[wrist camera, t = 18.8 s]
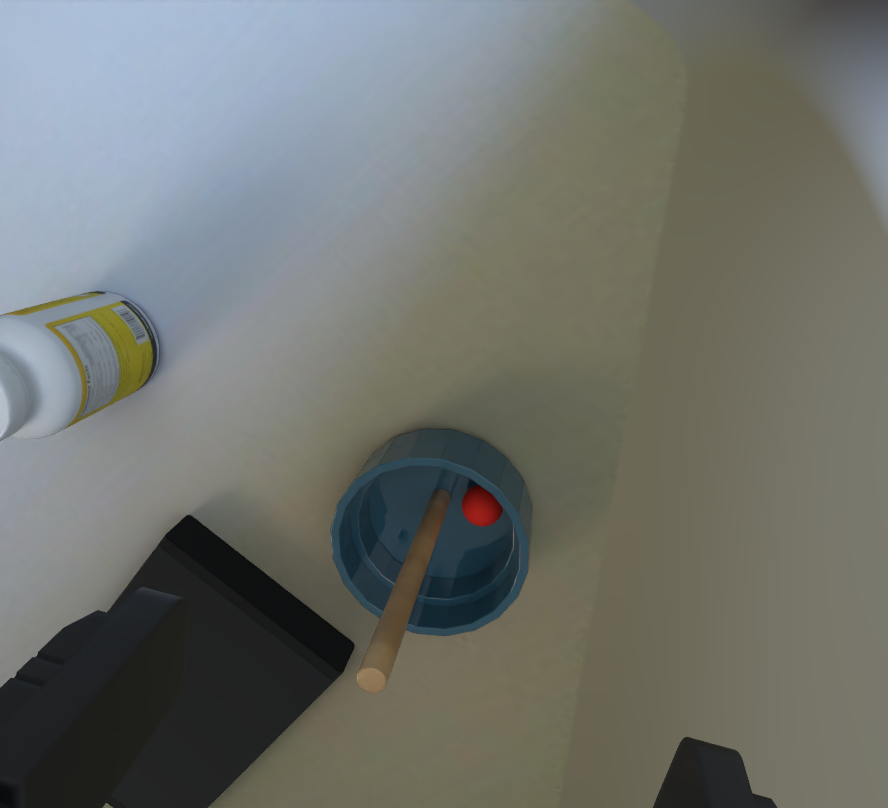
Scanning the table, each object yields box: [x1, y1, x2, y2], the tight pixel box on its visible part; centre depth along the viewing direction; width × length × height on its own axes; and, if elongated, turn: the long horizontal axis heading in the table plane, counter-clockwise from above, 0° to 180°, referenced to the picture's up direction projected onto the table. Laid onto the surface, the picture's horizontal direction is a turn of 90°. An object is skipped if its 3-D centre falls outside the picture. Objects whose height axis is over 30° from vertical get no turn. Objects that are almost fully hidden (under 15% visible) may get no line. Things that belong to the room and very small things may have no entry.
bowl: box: [330, 429, 532, 636], centre depth 40 cm, size 11×11×5 cm
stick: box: [357, 489, 451, 693], centre depth 34 cm, size 1×1×16 cm
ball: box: [462, 485, 503, 527], centre depth 40 cm, size 2×2×2 cm
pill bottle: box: [0, 291, 159, 441], centre depth 37 cm, size 6×6×12 cm
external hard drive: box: [106, 515, 354, 808], centre depth 49 cm, size 14×23×3 cm, turn 141°
